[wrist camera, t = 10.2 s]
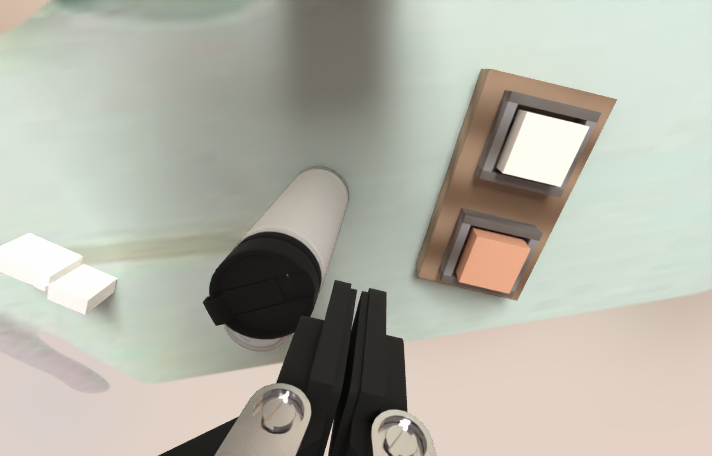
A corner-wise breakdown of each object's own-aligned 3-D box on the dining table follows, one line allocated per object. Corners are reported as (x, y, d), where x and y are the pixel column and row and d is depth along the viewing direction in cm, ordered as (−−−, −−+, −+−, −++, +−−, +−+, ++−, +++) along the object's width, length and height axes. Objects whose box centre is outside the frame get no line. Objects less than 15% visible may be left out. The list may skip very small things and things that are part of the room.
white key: (518, 109, 29) (527, 111, 27) (577, 123, 29) (589, 126, 27) (496, 167, 31) (502, 173, 29) (550, 180, 31) (560, 186, 29)
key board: (481, 69, 32) (496, 68, 28) (597, 97, 32) (632, 101, 28) (416, 263, 41) (419, 287, 36) (508, 285, 41) (523, 311, 36)
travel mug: (280, 176, 38) (180, 271, 20) (338, 158, 37) (288, 243, 18) (301, 227, 40) (228, 355, 22) (356, 213, 39) (327, 336, 21)
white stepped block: (6, 233, 45) (-45, 254, 39) (68, 198, 42) (23, 216, 37) (86, 322, 50) (51, 351, 44) (147, 296, 47) (117, 324, 42)
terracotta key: (472, 227, 34) (477, 236, 32) (523, 239, 34) (530, 249, 32) (455, 271, 36) (458, 282, 34) (503, 282, 36) (509, 293, 34)
